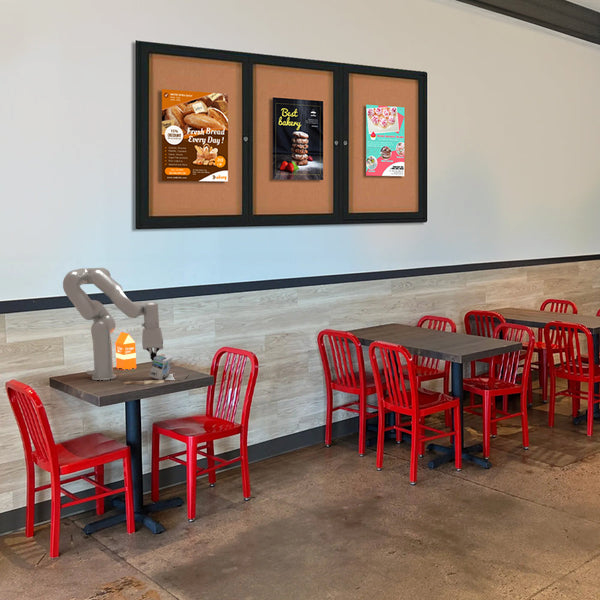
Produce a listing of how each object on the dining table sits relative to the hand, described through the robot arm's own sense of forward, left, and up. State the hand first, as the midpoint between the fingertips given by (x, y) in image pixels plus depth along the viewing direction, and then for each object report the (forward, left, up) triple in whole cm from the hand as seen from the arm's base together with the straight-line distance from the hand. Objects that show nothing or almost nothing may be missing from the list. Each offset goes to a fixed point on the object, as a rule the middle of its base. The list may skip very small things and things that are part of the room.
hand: (153, 360), depth 396 cm
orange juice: (-22, +25, -10) cm, 35 cm away
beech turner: (-2, -11, -10) cm, 15 cm away
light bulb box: (+2, 0, -9) cm, 9 cm away
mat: (+12, +1, -10) cm, 15 cm away
